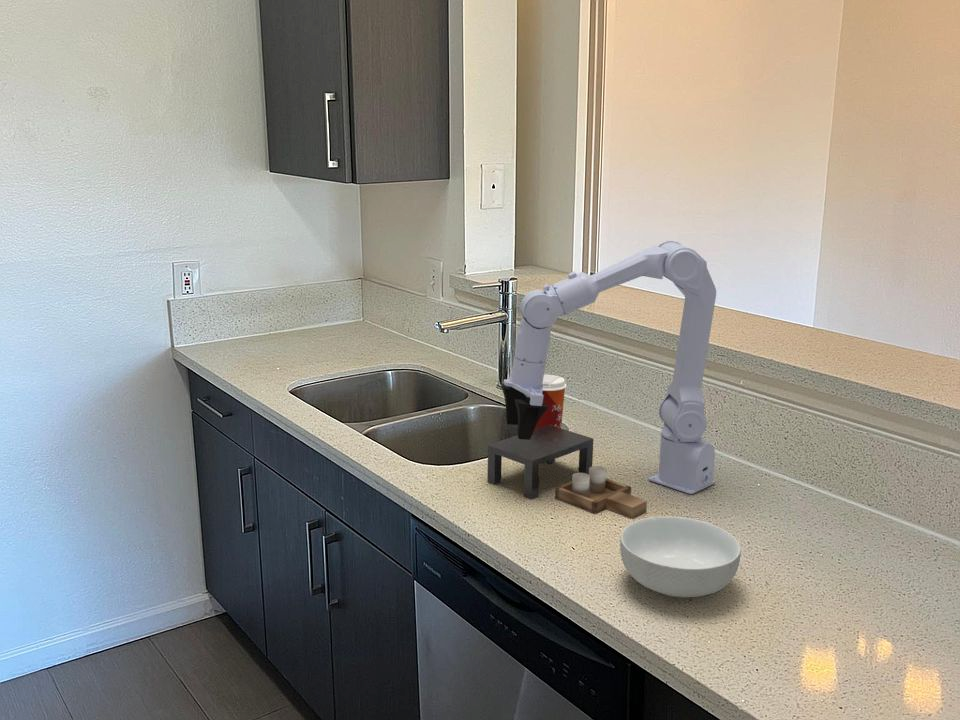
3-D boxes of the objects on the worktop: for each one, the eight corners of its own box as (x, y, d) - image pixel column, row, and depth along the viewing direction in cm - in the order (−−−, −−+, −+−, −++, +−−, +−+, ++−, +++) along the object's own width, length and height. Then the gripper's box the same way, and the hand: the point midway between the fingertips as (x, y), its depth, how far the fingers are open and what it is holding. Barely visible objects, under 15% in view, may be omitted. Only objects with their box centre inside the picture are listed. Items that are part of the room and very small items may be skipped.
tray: (656, 506, 159) (657, 482, 158) (621, 523, 152) (622, 498, 151) (590, 483, 169) (591, 460, 168) (555, 498, 162) (555, 474, 161)
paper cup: (562, 452, 184) (564, 385, 181) (524, 449, 186) (525, 382, 182) (566, 439, 192) (568, 374, 188) (530, 436, 193) (531, 372, 189)
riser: (591, 474, 173) (593, 438, 171) (531, 499, 161) (532, 461, 160) (548, 459, 180) (549, 424, 179) (487, 481, 169) (487, 445, 167)
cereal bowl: (666, 626, 122) (670, 578, 120) (595, 572, 136) (597, 528, 134) (763, 597, 129) (767, 551, 127) (685, 549, 143) (688, 507, 142)
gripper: (498, 346, 167) (486, 416, 171) (520, 368, 154) (507, 444, 157) (534, 349, 169) (522, 418, 172) (559, 371, 156) (546, 446, 159)
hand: (518, 431), depth 165 cm, fingers open, 7 cm apart
